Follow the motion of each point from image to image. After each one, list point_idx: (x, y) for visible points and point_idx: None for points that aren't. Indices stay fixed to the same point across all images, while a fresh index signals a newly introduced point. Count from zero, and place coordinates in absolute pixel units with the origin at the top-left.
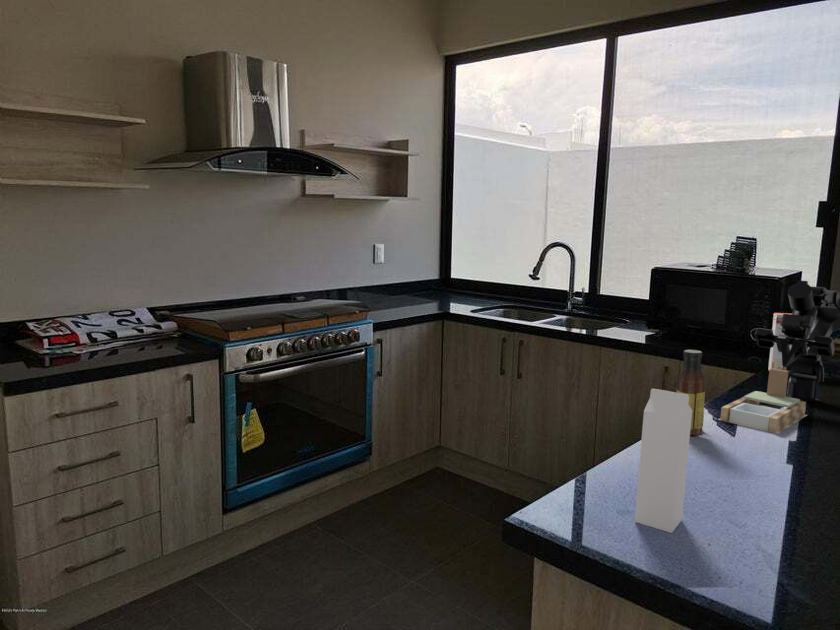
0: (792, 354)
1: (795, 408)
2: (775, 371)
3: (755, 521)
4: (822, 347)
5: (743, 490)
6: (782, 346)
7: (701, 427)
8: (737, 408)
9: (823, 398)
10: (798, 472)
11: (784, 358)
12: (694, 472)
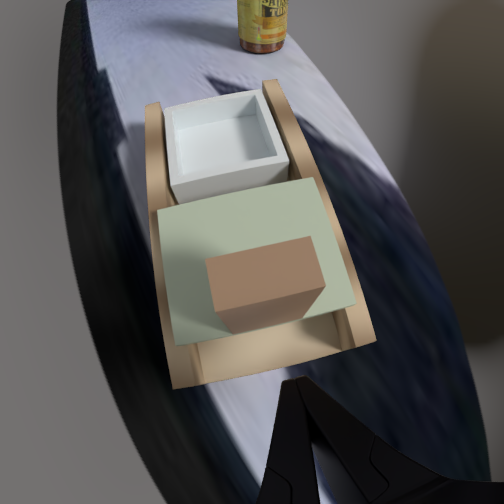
0: (269, 470)
1: (152, 250)
2: (272, 248)
3: (104, 5)
4: None
5: (123, 14)
6: (429, 489)
7: (238, 34)
8: (260, 111)
9: None
10: (89, 63)
11: (320, 412)
12: (171, 3)
